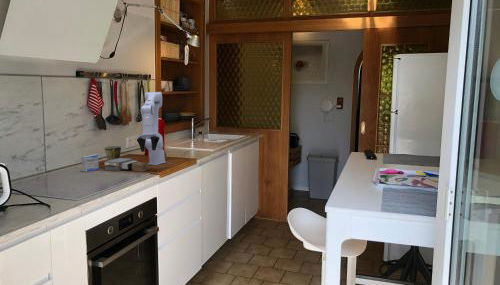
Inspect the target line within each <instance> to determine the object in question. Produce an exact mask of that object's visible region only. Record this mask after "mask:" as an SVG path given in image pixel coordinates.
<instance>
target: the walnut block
mask: <svg viewBox="0 0 500 285" xmlns="http://www.w3.org/2000/svg"><path fill="white" fill-rule="evenodd" d="M149 166H150V165H149V162H140V161H139V162H136V163H132V168H131V171H133V172H134V171H135V172H146V171H149V170H150V167H149ZM148 169H149V170H148Z"/></svg>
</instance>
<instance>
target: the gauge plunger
mask: <svg viewBox="0 0 500 285" xmlns="http://www.w3.org/2000/svg"><path fill="white" fill-rule="evenodd" d="M136 162H140V161H139V160H133V161H130V160H129V161H125V162H121V163H120V165H119V166H117V163H116V170H117V167H120V169H124V170H130V169H131V170H132V163H136Z"/></svg>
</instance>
